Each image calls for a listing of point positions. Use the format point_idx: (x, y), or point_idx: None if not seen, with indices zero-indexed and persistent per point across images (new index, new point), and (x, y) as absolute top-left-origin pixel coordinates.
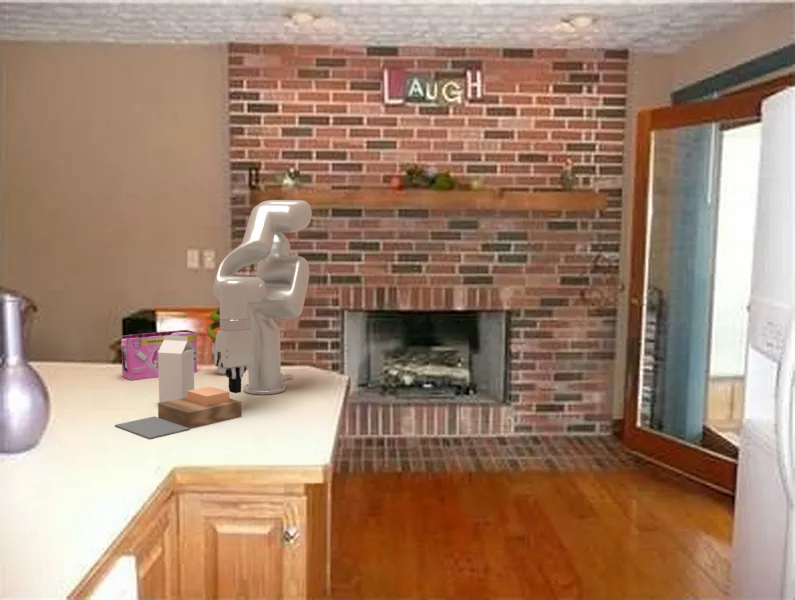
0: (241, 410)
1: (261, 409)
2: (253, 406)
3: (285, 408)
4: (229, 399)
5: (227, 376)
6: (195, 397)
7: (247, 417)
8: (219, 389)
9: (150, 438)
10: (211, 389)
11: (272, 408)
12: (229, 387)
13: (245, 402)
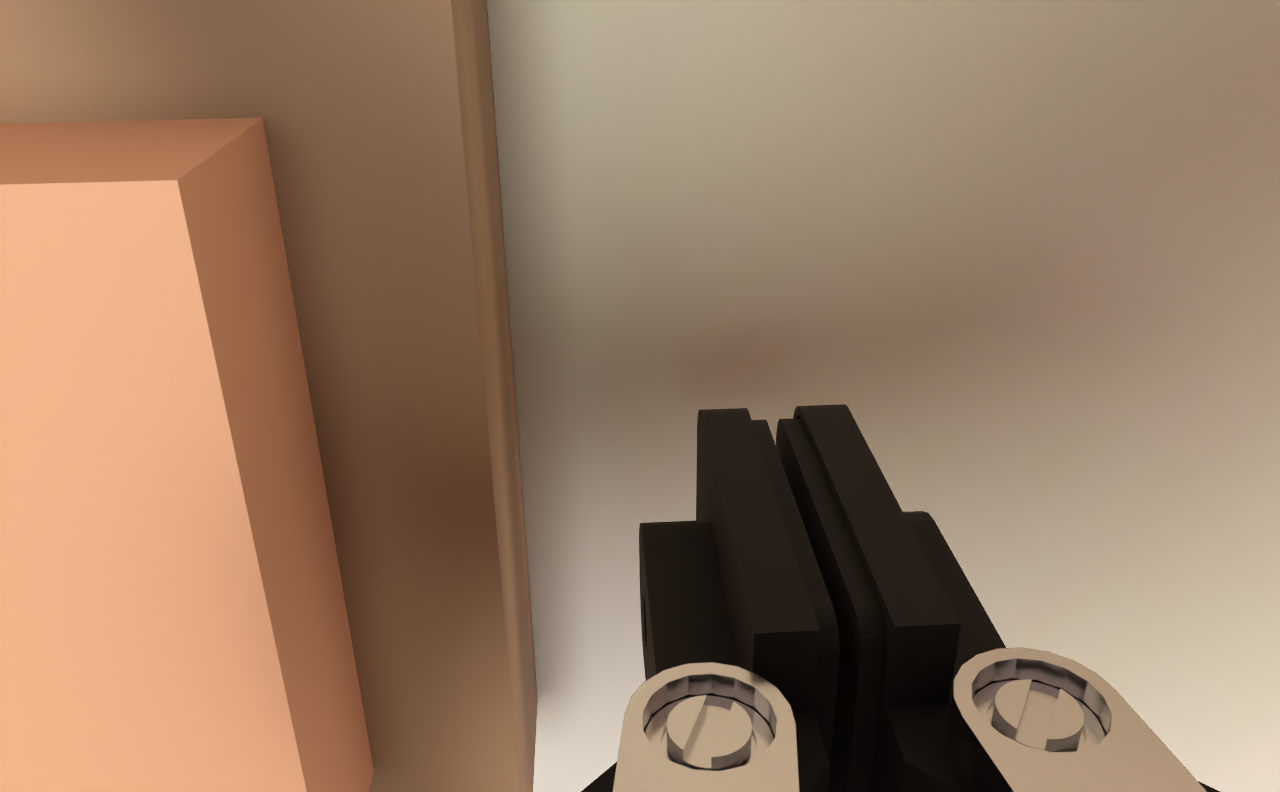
0: (532, 762)
1: (979, 596)
2: (1044, 388)
3: (1209, 742)
4: (440, 688)
5: (605, 781)
6: None
7: (564, 772)
8: (260, 665)
9: None
10: (74, 546)
11: (1113, 646)
12: (641, 563)
13: (1190, 56)
